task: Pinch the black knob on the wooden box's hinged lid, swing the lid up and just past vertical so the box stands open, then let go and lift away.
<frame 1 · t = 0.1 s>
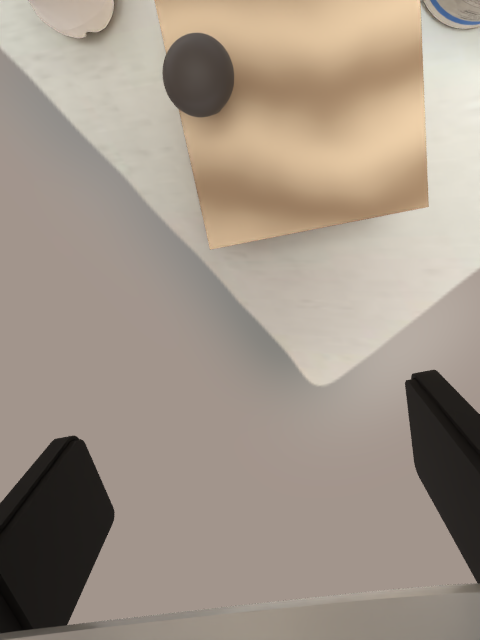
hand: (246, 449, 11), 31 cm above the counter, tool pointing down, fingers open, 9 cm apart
lid: (300, 64, 20), point 16 cm above the counter, hinge at 0.0°
water bottle: (84, 0, 33), on the counter
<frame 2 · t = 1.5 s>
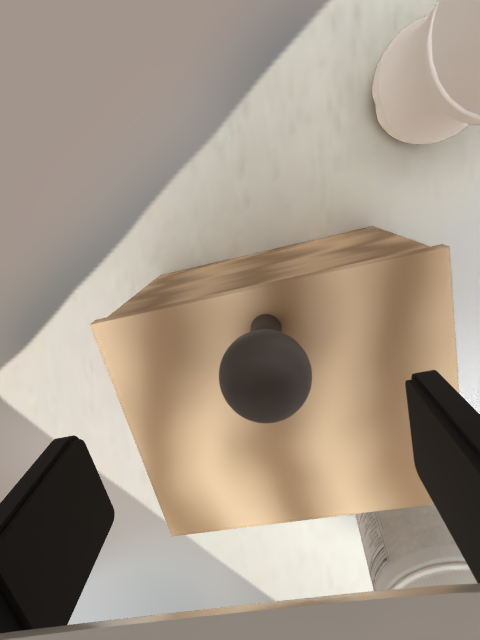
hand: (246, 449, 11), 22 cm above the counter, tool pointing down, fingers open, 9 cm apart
supplement tub: (393, 472, 37), on the counter
lid: (289, 452, 18), point 16 cm above the counter, hinge at 0.0°
wooden box: (280, 334, 33), on the counter
water bottle: (414, 93, 27), on the counter
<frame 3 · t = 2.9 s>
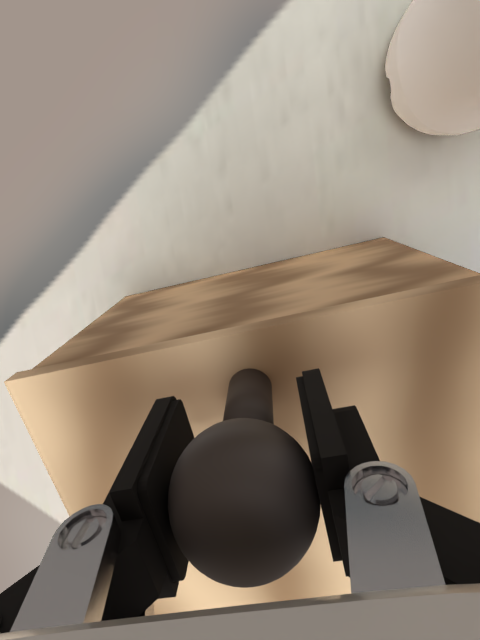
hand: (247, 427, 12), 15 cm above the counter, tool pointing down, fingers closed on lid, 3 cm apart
lid: (284, 572, 13), point 16 cm above the counter, hinge at 0.0°, touching gripper
wooden box: (272, 365, 28), on the counter
water bottle: (436, 73, 21), on the counter
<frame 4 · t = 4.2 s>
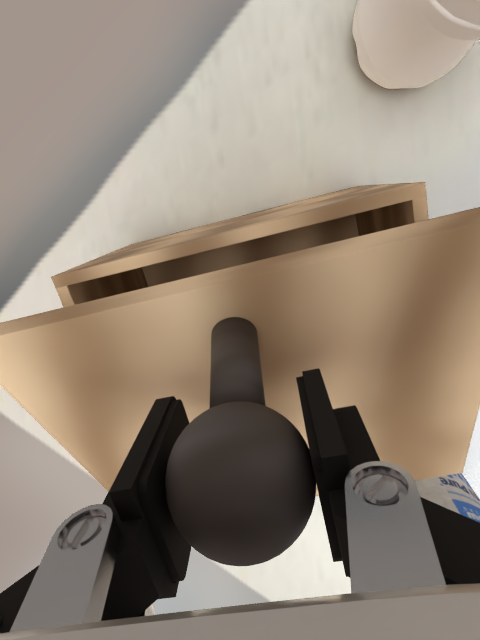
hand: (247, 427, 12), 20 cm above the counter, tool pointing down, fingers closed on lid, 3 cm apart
supplement tub: (384, 455, 35), on the counter
lid: (273, 492, 14), point 19 cm above the counter, hinge at 21.2°, touching gripper
wooden box: (261, 307, 31), on the counter
water bottle: (398, 38, 25), on the counter
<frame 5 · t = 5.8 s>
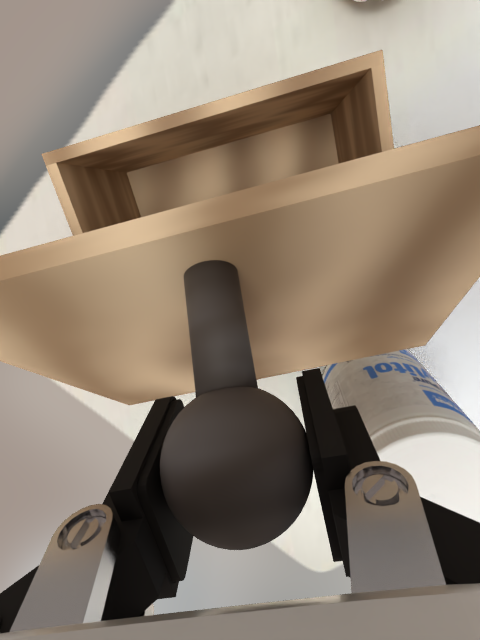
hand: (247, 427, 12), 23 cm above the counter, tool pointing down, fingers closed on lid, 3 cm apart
supplement tub: (367, 380, 37), on the counter
lid: (258, 408, 15), point 21 cm above the counter, hinge at 48.5°, touching gripper
wooden box: (246, 229, 33), on the counter
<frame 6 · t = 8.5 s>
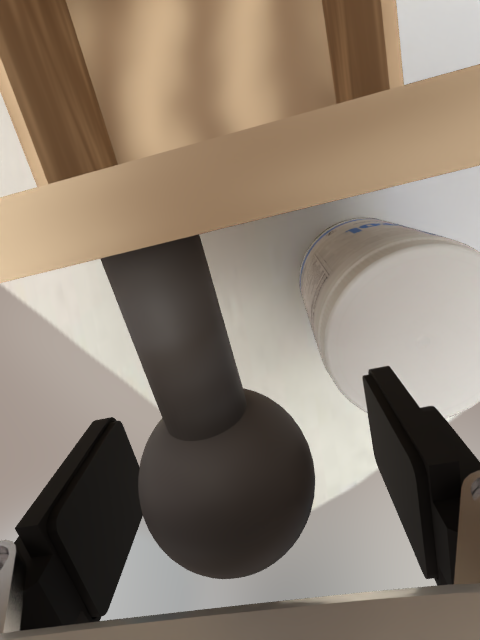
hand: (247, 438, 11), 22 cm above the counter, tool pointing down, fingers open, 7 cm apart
supplement tub: (353, 274, 32), on the counter
lid: (222, 297, 12), point 20 cm above the counter, hinge at 93.7°
wooden box: (210, 76, 27), on the counter
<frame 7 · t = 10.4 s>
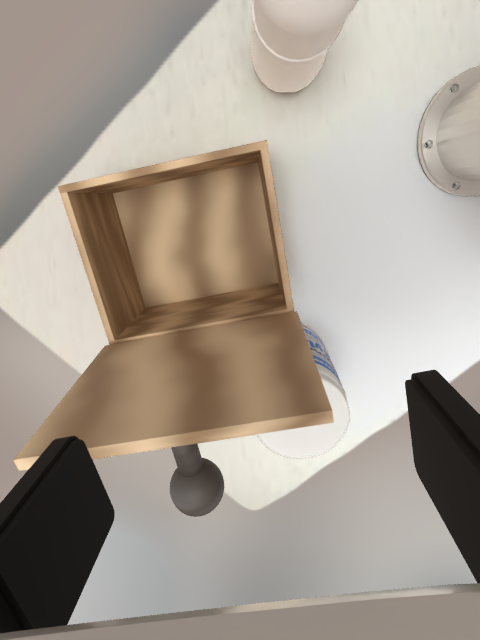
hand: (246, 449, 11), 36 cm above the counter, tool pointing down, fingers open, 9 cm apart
supplement tub: (287, 355, 49), on the counter
lid: (199, 412, 29), point 20 cm above the counter, hinge at 93.7°
wooden box: (199, 238, 45), on the counter
water bottle: (285, 60, 39), on the counter
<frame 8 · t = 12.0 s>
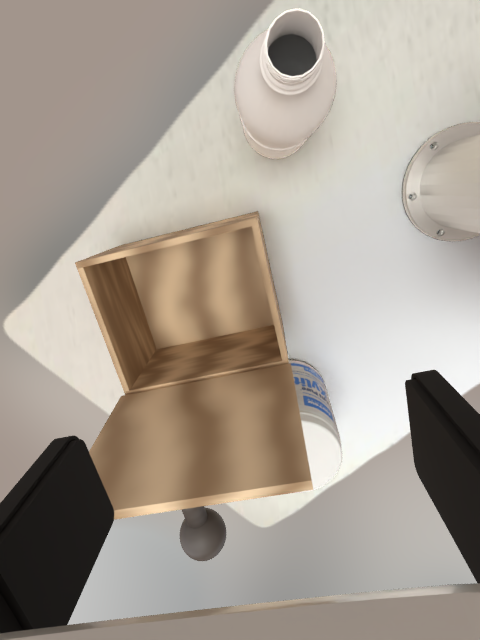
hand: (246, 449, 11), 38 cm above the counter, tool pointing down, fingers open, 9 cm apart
supplement tub: (289, 387, 53), on the counter
lid: (204, 462, 33), point 20 cm above the counter, hinge at 93.7°
wooden box: (203, 286, 49), on the counter
water bottle: (275, 126, 42), on the counter
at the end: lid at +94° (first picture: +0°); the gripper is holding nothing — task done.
